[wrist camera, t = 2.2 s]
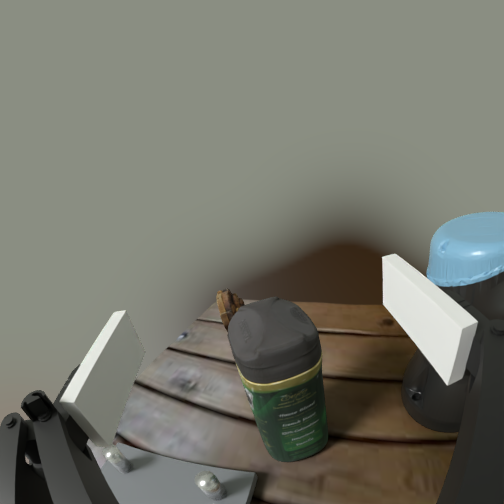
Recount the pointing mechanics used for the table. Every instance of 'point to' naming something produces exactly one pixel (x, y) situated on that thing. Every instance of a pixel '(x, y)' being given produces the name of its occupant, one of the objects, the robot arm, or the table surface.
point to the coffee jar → (281, 376)
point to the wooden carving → (228, 305)
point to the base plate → (172, 479)
